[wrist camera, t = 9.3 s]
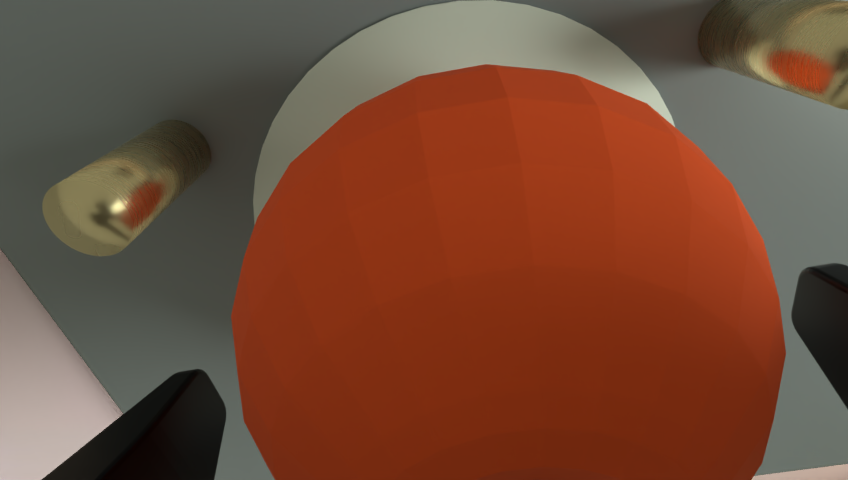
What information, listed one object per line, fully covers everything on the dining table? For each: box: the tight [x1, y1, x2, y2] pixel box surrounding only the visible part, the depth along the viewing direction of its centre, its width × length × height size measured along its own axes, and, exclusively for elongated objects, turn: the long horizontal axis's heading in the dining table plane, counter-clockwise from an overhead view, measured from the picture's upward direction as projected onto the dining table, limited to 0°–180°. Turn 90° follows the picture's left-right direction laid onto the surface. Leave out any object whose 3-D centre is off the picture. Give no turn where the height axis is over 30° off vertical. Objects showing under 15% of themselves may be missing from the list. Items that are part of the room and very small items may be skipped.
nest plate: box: [0, 0, 848, 480], centre depth 11 cm, size 20×20×1 cm
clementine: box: [231, 64, 786, 480], centre depth 7 cm, size 8×7×7 cm
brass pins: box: [42, 0, 848, 256], centre depth 10 cm, size 12×10×3 cm
